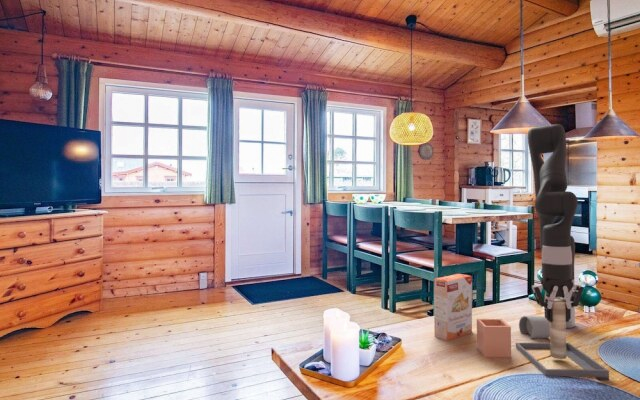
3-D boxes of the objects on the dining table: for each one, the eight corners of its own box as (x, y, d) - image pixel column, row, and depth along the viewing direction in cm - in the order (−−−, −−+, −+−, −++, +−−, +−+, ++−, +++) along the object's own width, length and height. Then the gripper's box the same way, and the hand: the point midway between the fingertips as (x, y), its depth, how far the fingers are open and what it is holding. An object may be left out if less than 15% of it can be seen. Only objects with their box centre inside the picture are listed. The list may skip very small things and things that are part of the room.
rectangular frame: (515, 350, 129) (515, 342, 129) (569, 350, 128) (568, 342, 128) (545, 379, 109) (545, 369, 109) (609, 380, 108) (608, 370, 108)
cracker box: (448, 344, 136) (447, 280, 135) (433, 339, 140) (432, 278, 140) (473, 334, 144) (472, 275, 144) (458, 330, 149) (457, 272, 148)
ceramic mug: (555, 341, 136) (554, 317, 136) (532, 343, 135) (532, 319, 135) (534, 331, 147) (533, 309, 147) (512, 332, 145) (512, 311, 145)
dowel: (547, 353, 120) (546, 299, 120) (561, 353, 120) (561, 298, 120) (554, 358, 116) (553, 302, 116) (569, 359, 116) (568, 302, 116)
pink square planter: (477, 350, 130) (476, 318, 130) (502, 350, 129) (501, 318, 129) (484, 360, 122) (484, 326, 122) (511, 360, 122) (510, 326, 121)
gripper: (575, 258, 121) (576, 317, 121) (525, 259, 122) (526, 317, 123) (590, 263, 114) (591, 325, 114) (536, 263, 115) (537, 325, 115)
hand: (557, 320), depth 118 cm, fingers closed on dowel, 4 cm apart
